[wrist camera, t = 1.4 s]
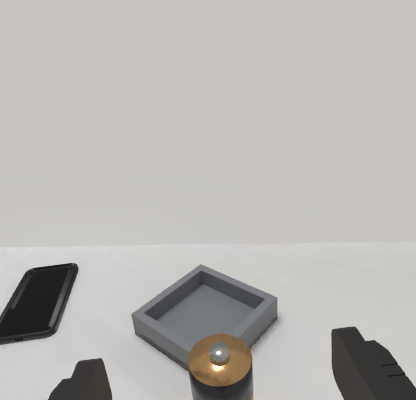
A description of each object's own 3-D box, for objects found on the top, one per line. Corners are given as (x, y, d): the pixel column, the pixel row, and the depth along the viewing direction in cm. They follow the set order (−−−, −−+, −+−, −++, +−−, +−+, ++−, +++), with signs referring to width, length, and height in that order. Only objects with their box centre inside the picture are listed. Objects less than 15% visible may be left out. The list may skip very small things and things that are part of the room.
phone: (78, 262, 57) (53, 331, 43) (80, 268, 57) (55, 338, 44) (26, 268, 56) (-16, 341, 43) (28, 274, 57) (-13, 348, 43)
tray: (135, 333, 43) (131, 314, 42) (202, 282, 51) (200, 264, 50) (213, 388, 35) (210, 366, 34) (277, 317, 43) (277, 297, 42)
